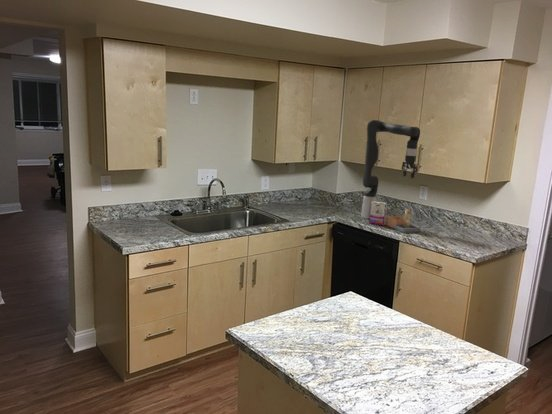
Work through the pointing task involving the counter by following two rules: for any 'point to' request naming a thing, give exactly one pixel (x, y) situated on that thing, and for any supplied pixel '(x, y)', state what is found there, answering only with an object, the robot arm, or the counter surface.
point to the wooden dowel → (407, 218)
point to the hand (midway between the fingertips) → (408, 177)
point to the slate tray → (406, 230)
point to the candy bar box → (378, 213)
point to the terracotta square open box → (395, 221)
